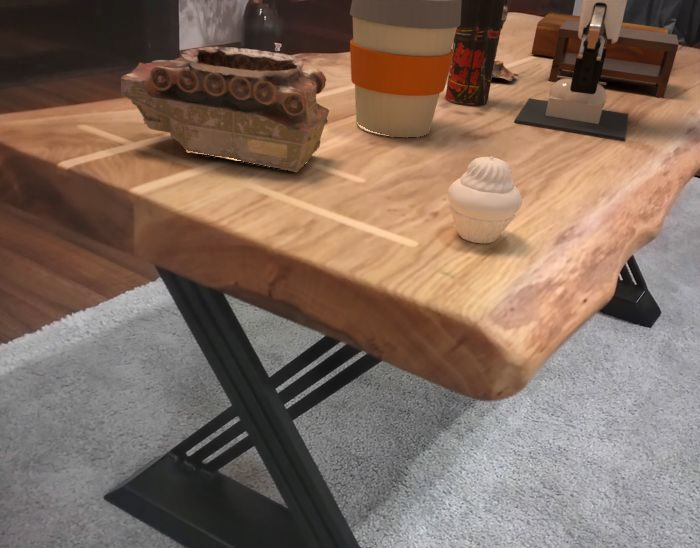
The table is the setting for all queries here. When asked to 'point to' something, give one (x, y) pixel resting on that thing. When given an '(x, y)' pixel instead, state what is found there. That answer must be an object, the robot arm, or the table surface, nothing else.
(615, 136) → the mat
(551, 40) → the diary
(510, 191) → the muffin
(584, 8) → the robot arm
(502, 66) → the plant with pod
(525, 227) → the table surface
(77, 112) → the table surface
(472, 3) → the deodorant
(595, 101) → the cream arch-topped block
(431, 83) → the reusable coffee cup
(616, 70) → the rack
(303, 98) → the toy armored vehicle
